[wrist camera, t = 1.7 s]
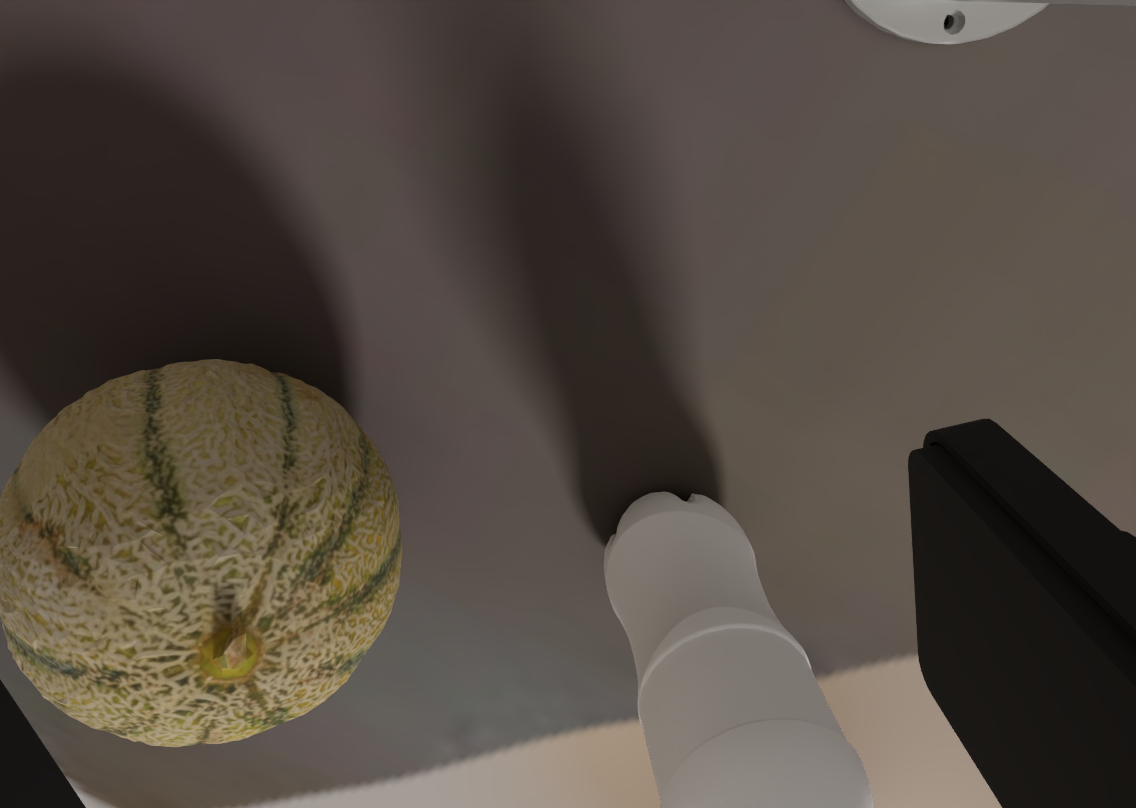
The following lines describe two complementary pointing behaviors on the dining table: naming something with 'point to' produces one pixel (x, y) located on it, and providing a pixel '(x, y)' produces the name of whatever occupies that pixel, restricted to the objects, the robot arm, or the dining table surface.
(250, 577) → the cantaloupe
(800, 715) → the water bottle
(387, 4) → the dining table surface
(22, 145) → the dining table surface
